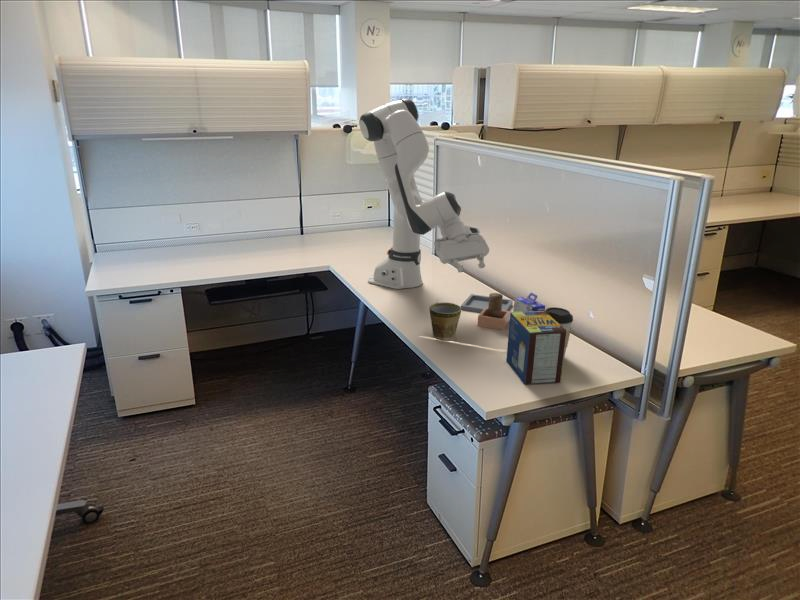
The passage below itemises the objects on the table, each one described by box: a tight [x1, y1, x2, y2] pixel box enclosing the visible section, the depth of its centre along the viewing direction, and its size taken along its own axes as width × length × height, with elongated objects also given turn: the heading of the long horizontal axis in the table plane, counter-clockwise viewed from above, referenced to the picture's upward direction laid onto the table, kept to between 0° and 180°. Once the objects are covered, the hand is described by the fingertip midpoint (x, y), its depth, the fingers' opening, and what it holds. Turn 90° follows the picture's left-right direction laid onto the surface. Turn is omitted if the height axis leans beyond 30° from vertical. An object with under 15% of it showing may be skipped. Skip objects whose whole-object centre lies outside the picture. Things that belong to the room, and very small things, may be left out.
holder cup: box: [477, 308, 511, 331], centre depth 193 cm, size 9×9×4 cm
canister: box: [488, 292, 504, 318], centre depth 191 cm, size 4×4×10 cm
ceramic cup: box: [429, 302, 462, 342], centre depth 182 cm, size 13×10×10 cm
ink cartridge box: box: [512, 292, 546, 312], centre depth 181 cm, size 10×6×14 cm, turn 24°
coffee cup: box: [545, 306, 574, 361], centre depth 167 cm, size 9×9×15 cm
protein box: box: [505, 310, 567, 385], centre depth 158 cm, size 10×15×16 cm
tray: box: [460, 293, 514, 314], centre depth 208 cm, size 16×14×2 cm
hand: (472, 269), depth 197 cm, fingers open, 8 cm apart
